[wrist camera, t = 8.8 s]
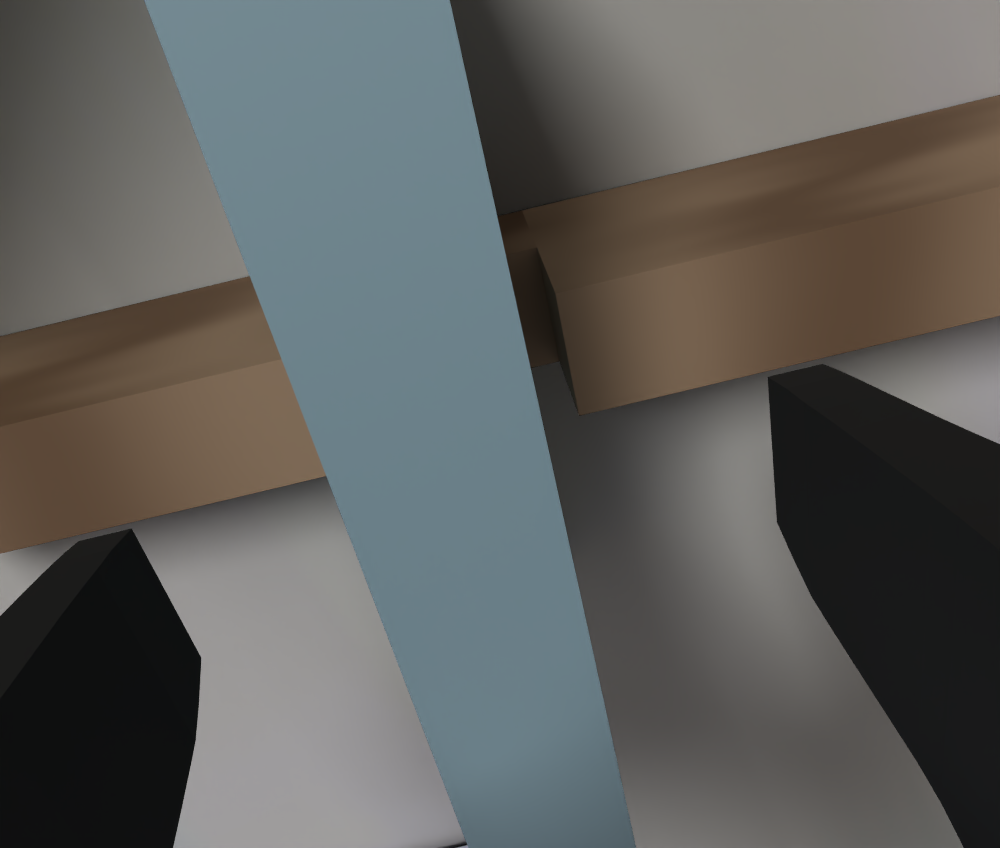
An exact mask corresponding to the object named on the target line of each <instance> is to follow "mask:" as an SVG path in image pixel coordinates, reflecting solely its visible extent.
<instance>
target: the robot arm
mask: <svg viewBox="0 0 1000 848" xmlns="http://www.w3.org/2000/svg"><path fill="white" fill-rule="evenodd" d="M768 388H769V403H770V419H771V435H772V451H773V466H774V482H775V498H776V514H777V523H778V525H779V528H780V530H781V532H782V534H783V536H784V539H785V541H786V543H787V545H788V548H789V550H790V552H791V554H792V556H793V559H794V561H795V563H796V565H797V567H798V569H799V571H800V573H801V576H802V578H803V580H804V582H805V584H806V586H807V588H808V590H809V592H810V594H811V596H812V598H813V600H814V601H815V603H816V604H817V606H818V608H819V609H820V611H821V612H822V614H823V616H824V617H825V619H826V620H827V622H828V624H829V625H830V627H831V628H832V630H833V631H834V633H835V635H836V636H837V638H838V639H839V641H840V643H841V644H842V646H843V647H844V649H845V650H846V652H847V654H848V655H849V657H850V658H851V660H852V661H853V663H854V664H855V666H856V668H857V669H858V671H859V672H860V674H861V675H862V677H863V678H864V680H865V682H866V683H867V685H868V686H869V688H870V689H871V691H872V692H873V694H874V696H875V697H876V699H877V700H878V702H879V703H880V705H881V706H882V708H883V710H884V711H885V713H886V714H887V716H888V717H889V719H890V720H891V722H892V724H893V725H894V727H895V728H896V730H897V731H898V733H899V734H900V736H901V738H902V739H903V741H904V742H905V744H906V745H907V747H908V748H909V750H910V752H911V753H912V755H913V756H914V758H915V759H916V761H917V762H918V764H919V766H920V768H921V769H922V771H923V773H924V774H925V776H926V778H927V780H928V781H929V783H930V785H931V786H932V788H933V790H934V792H935V793H936V795H937V797H938V798H939V800H940V802H941V804H942V806H943V807H944V809H945V811H946V813H947V815H948V817H949V819H950V821H951V823H952V825H953V827H954V829H955V831H956V833H957V835H958V837H959V839H960V841H961V843H962V845H963V847H964V848H1000V444H998V443H996V442H993V441H991V440H989V439H986V438H984V437H982V436H979V435H977V434H975V433H973V432H970V431H968V430H966V429H964V428H961V427H959V426H957V425H955V424H953V423H950V422H948V421H946V420H944V419H942V418H939V417H937V416H935V415H933V414H931V413H929V412H926V411H924V410H922V409H920V408H918V407H916V406H914V405H912V404H909V403H907V402H905V401H903V400H901V399H899V398H897V397H895V396H892V395H890V394H888V393H886V392H884V391H882V390H880V389H878V388H876V387H873V386H871V385H869V384H867V383H865V382H863V381H861V380H859V379H856V378H854V377H852V376H850V375H848V374H845V373H843V372H841V371H839V370H836V369H834V368H831V367H829V366H826V365H824V364H821V365H816V366H812V367H808V368H804V369H800V370H795V371H791V372H787V373H783V374H779V375H774V376H770V377H768ZM200 671H201V657H200V655H199V653H198V651H197V649H196V647H195V645H194V644H193V642H192V640H191V638H190V636H189V634H188V632H187V631H186V629H185V627H184V625H183V623H182V621H181V619H180V618H179V616H178V614H177V612H176V610H175V608H174V606H173V605H172V603H171V601H170V599H169V597H168V595H167V593H166V592H165V590H164V588H163V586H162V584H161V582H160V580H159V579H158V577H157V575H156V573H155V571H154V569H153V567H152V565H151V564H150V562H149V560H148V558H147V556H146V554H145V552H144V551H143V549H142V547H141V545H140V543H139V541H138V539H137V538H136V536H135V534H134V532H133V530H132V529H128V530H124V531H120V532H115V533H111V534H107V535H103V536H99V537H95V538H90V539H86V540H82V541H78V542H77V543H76V544H75V545H74V546H73V547H71V548H70V549H69V550H68V551H67V552H65V553H64V554H63V555H62V556H61V557H60V558H59V559H58V560H56V561H55V562H54V563H53V564H52V565H51V566H50V567H49V568H48V569H47V570H46V571H45V572H44V573H43V574H42V575H41V576H40V577H39V578H38V579H37V580H36V581H35V582H34V583H33V584H32V585H31V586H30V587H29V588H28V589H27V590H26V591H25V592H24V593H23V594H22V595H21V596H20V597H19V598H18V599H17V600H16V601H15V602H14V603H13V604H12V605H11V606H10V607H9V608H8V609H7V610H6V611H5V612H4V613H3V614H2V615H1V616H0V848H173V845H174V841H175V836H176V831H177V827H178V822H179V818H180V813H181V809H182V804H183V799H184V794H185V790H186V785H187V780H188V775H189V771H190V766H191V761H192V756H193V751H194V746H195V740H196V729H197V718H198V707H199V690H200ZM456 848H468V845H465V846H461V847H456Z"/></svg>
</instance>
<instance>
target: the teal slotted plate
mask: <svg viewBox="0 0 1000 848" xmlns="http://www.w3.org/2000/svg"><path fill="white" fill-rule="evenodd" d="M144 1H145V4H146V6H147V9H148V12H149V14H150V17H151V19H152V22H153V25H154V27H155V30H156V32H157V35H158V38H159V40H160V43H161V46H162V48H163V51H164V53H165V56H166V59H167V61H168V64H169V66H170V69H171V72H172V74H173V77H174V80H175V82H176V85H177V87H178V90H179V93H180V95H181V98H182V100H183V103H184V106H185V108H186V111H187V113H188V116H189V119H190V121H191V124H192V127H193V129H194V132H195V134H196V137H197V140H198V142H199V145H200V147H201V150H202V153H203V155H204V158H205V161H206V163H207V166H208V168H209V171H210V174H211V176H212V179H213V181H214V184H215V187H216V189H217V192H218V194H219V197H220V200H221V202H222V205H223V208H224V210H225V213H226V215H227V218H228V221H229V223H230V226H231V228H232V231H233V234H234V236H235V239H236V242H237V244H238V247H239V249H240V252H241V255H242V257H243V260H244V262H245V265H246V268H247V270H248V273H249V276H250V278H251V281H252V283H253V286H254V289H255V291H256V294H257V296H258V299H259V302H260V304H261V307H262V309H263V312H264V315H265V317H266V320H267V323H268V325H269V328H270V330H271V333H272V336H273V338H274V341H275V343H276V346H277V349H278V351H279V354H280V357H281V359H282V362H283V364H284V367H285V370H286V372H287V375H288V377H289V380H290V383H291V385H292V388H293V390H294V393H295V396H296V398H297V401H298V404H299V406H300V409H301V411H302V414H303V417H304V419H305V422H306V424H307V427H308V430H309V432H310V435H311V438H312V440H313V443H314V445H315V448H316V451H317V453H318V456H319V458H320V461H321V464H322V466H323V469H324V471H325V474H326V477H327V479H328V482H329V485H330V487H331V490H332V492H333V495H334V498H335V500H336V503H337V505H338V508H339V511H340V513H341V516H342V519H343V521H344V524H345V526H346V529H347V532H348V534H349V537H350V539H351V542H352V545H353V547H354V550H355V552H356V555H357V558H358V560H359V563H360V566H361V568H362V571H363V573H364V576H365V579H366V581H367V584H368V586H369V589H370V592H371V594H372V597H373V600H374V602H375V605H376V607H377V610H378V613H379V615H380V618H381V620H382V623H383V626H384V628H385V631H386V634H387V636H388V639H389V641H390V644H391V647H392V649H393V652H394V654H395V657H396V660H397V662H398V665H399V667H400V670H401V673H402V675H403V678H404V681H405V683H406V686H407V688H408V691H409V694H410V696H411V699H412V701H413V704H414V707H415V709H416V712H417V715H418V717H419V720H420V722H421V725H422V728H423V730H424V733H425V735H426V738H427V741H428V743H429V746H430V748H431V751H432V754H433V756H434V759H435V762H436V764H437V767H438V769H439V772H440V775H441V777H442V780H443V782H444V785H445V788H446V790H447V793H448V796H449V798H450V801H451V803H452V806H453V809H454V811H455V814H456V816H457V819H458V822H459V824H460V827H461V829H462V832H463V835H464V837H465V840H466V843H467V845H468V848H636V845H635V841H634V836H633V832H632V827H631V823H630V818H629V814H628V809H627V804H626V800H625V795H624V791H623V786H622V782H621V777H620V773H619V768H618V763H617V759H616V754H615V750H614V745H613V741H612V736H611V732H610V727H609V723H608V718H607V713H606V709H605V704H604V700H603V695H602V691H601V686H600V682H599V677H598V673H597V668H596V663H595V659H594V654H593V650H592V645H591V641H590V636H589V632H588V627H587V622H586V618H585V613H584V609H583V604H582V600H581V595H580V591H579V586H578V582H577V577H576V572H575V568H574V563H573V559H572V554H571V550H570V545H569V541H568V536H567V532H566V527H565V522H564V518H563V513H562V509H561V504H560V500H559V495H558V491H557V486H556V481H555V477H554V472H553V468H552V463H551V459H550V454H549V450H548V445H547V441H546V436H545V431H544V427H543V422H542V418H541V413H540V409H539V404H538V400H537V395H536V391H535V386H534V381H533V377H532V372H531V368H530V363H529V359H528V354H527V350H526V345H525V340H524V336H523V331H522V327H521V322H520V318H519V313H518V309H517V304H516V300H515V295H514V290H513V286H512V281H511V277H510V272H509V268H508V263H507V259H506V254H505V250H504V245H503V240H502V236H501V231H500V227H499V222H498V218H497V213H496V209H495V204H494V199H493V195H492V190H491V186H490V181H489V177H488V172H487V168H486V163H485V159H484V154H483V149H482V145H481V140H480V136H479V131H478V127H477V122H476V118H475V113H474V109H473V104H472V99H471V95H470V90H469V86H468V81H467V77H466V72H465V68H464V63H463V58H462V54H461V49H460V45H459V40H458V36H457V31H456V27H455V22H454V18H453V13H452V8H451V4H450V0H144Z"/></svg>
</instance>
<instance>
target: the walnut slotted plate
mask: <svg viewBox="0 0 1000 848" xmlns="http://www.w3.org/2000/svg"><path fill="white" fill-rule="evenodd" d="M497 218H498V222H499V227H500V231H501V236H502V240H503V245H504V250H505V254H506V259H507V263H508V268H509V272H510V277H511V281H512V286H513V290H514V295H515V300H516V304H517V309H518V313H519V318H520V322H521V327H522V331H523V336H524V340H525V345H526V350H527V354H528V359H529V363H530V368H533V367H537V366H541V365H546V364H550V363H554V362H558V361H560V364H561V367H562V369H563V372H564V375H565V378H566V381H567V383H568V386H569V389H570V392H571V395H572V397H573V400H574V403H575V406H576V409H577V411H578V414H579V416H581V415H585V414H589V413H593V412H597V411H602V410H606V409H610V408H614V407H618V406H623V405H627V404H631V403H635V402H639V401H644V400H648V399H652V398H656V397H660V396H665V395H669V394H673V393H677V392H681V391H686V390H690V389H694V388H698V387H702V386H707V385H711V384H715V383H719V382H723V381H728V380H732V379H736V378H740V377H744V376H749V375H753V374H757V373H761V372H766V371H770V370H774V369H778V368H782V367H787V366H791V365H795V364H799V363H803V362H808V361H812V360H816V359H820V358H824V357H829V356H833V355H837V354H841V353H845V352H850V351H854V350H858V349H862V348H866V347H871V346H875V345H879V344H883V343H887V342H892V341H896V340H900V339H904V338H908V337H913V336H917V335H921V334H925V333H929V332H934V331H938V330H942V329H946V328H950V327H955V326H959V325H963V324H967V323H971V322H976V321H980V320H984V319H988V318H993V317H997V316H1000V95H998V96H994V97H989V98H985V99H981V100H977V101H973V102H969V103H965V104H961V105H956V106H952V107H948V108H944V109H940V110H936V111H932V112H927V113H923V114H919V115H915V116H911V117H907V118H903V119H898V120H894V121H890V122H886V123H882V124H878V125H874V126H869V127H865V128H861V129H857V130H853V131H849V132H845V133H841V134H836V135H832V136H828V137H824V138H820V139H816V140H812V141H807V142H803V143H799V144H795V145H791V146H787V147H783V148H778V149H774V150H770V151H766V152H762V153H758V154H754V155H749V156H745V157H741V158H737V159H733V160H729V161H725V162H721V163H716V164H712V165H708V166H704V167H700V168H696V169H692V170H687V171H683V172H679V173H675V174H671V175H667V176H663V177H658V178H654V179H650V180H646V181H642V182H638V183H634V184H629V185H625V186H621V187H617V188H613V189H609V190H605V191H601V192H596V193H592V194H588V195H584V196H580V197H576V198H572V199H567V200H563V201H559V202H555V203H551V204H547V205H543V206H538V207H534V208H530V209H526V210H522V211H518V212H514V213H509V214H505V215H501V216H497ZM324 476H326V474H325V471H324V469H323V466H322V464H321V461H320V458H319V456H318V453H317V451H316V448H315V445H314V443H313V440H312V438H311V435H310V432H309V430H308V427H307V424H306V422H305V419H304V417H303V414H302V411H301V409H300V406H299V404H298V401H297V398H296V396H295V393H294V390H293V388H292V385H291V383H290V380H289V377H288V375H287V372H286V370H285V367H284V364H283V362H282V359H281V357H280V354H279V351H278V349H277V346H276V343H275V341H274V338H273V336H272V333H271V330H270V328H269V325H268V323H267V320H266V317H265V315H264V312H263V309H262V307H261V304H260V302H259V299H258V296H257V294H256V291H255V289H254V286H253V283H252V281H251V278H250V276H249V277H245V278H241V279H236V280H232V281H228V282H224V283H220V284H216V285H212V286H207V287H203V288H199V289H195V290H191V291H187V292H183V293H178V294H174V295H170V296H166V297H162V298H158V299H154V300H149V301H145V302H141V303H137V304H133V305H129V306H125V307H121V308H116V309H112V310H108V311H104V312H100V313H96V314H92V315H87V316H83V317H79V318H75V319H71V320H67V321H63V322H58V323H54V324H50V325H46V326H42V327H38V328H34V329H29V330H25V331H21V332H17V333H13V334H9V335H5V336H1V337H0V553H5V552H9V551H13V550H17V549H22V548H26V547H30V546H34V545H38V544H43V543H47V542H51V541H55V540H59V539H64V538H68V537H72V536H76V535H80V534H85V533H89V532H93V531H97V530H101V529H106V528H110V527H114V526H118V525H122V524H127V523H131V522H135V521H139V520H143V519H148V518H152V517H156V516H160V515H164V514H169V513H173V512H177V511H181V510H185V509H190V508H194V507H198V506H202V505H206V504H211V503H215V502H219V501H223V500H227V499H232V498H236V497H240V496H244V495H248V494H253V493H257V492H261V491H265V490H270V489H274V488H278V487H282V486H286V485H291V484H295V483H299V482H303V481H307V480H312V479H316V478H320V477H324Z"/></svg>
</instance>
